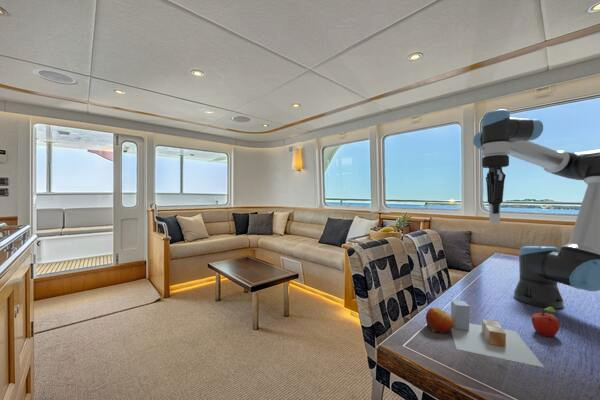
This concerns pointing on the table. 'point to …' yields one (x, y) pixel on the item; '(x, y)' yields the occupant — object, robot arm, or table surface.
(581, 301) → the table surface
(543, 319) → the apple
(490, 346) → the felt mat
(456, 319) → the slate block
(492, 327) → the beech block
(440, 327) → the fruit
